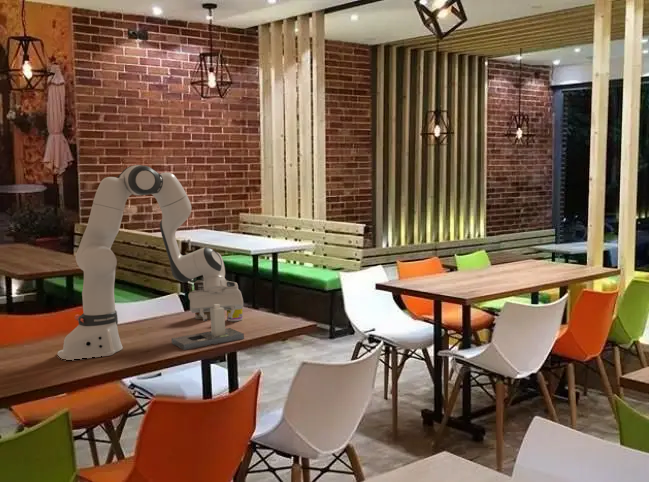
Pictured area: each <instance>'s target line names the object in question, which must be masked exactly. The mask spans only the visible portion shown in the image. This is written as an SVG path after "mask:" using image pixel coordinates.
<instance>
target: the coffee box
mask: <svg viewBox="0 0 649 482" xmlns="http://www.w3.org/2000/svg"><path fill="white" fill-rule="evenodd" d="M203 282H204V279H197V280H196V281H193V291H194V290H196V291H198V290H204V285H203ZM204 315H207V320H211V316H210V312H204ZM194 317H195V318H194V319H195V320H203V317H202V316H201V315H200V312H197V313H195V316H194Z"/></svg>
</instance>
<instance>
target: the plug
mask: <svg viewBox="0 0 649 482" xmlns="http://www.w3.org/2000/svg"><path fill="white" fill-rule="evenodd" d="M225 315H226V314H225V310H224V308H222V307H220V304H214V308H210V316H211V319H210V328H211V333H212V335H213V336H215V337H216V336H221V335H226V332H225V329H226V316H225Z"/></svg>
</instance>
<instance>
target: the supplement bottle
mask: <svg viewBox="0 0 649 482" xmlns="http://www.w3.org/2000/svg"><path fill="white" fill-rule="evenodd" d="M228 313H231V310H226V320H227V321H228V322H231V323H232V322H234V323H235V322H240V321H243V319H244V317H243V316H244V315H243V314H244V313H243V308H242V309H237V310H234V313H233V315H232V319H228Z"/></svg>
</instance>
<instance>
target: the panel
mask: <svg viewBox="0 0 649 482" xmlns="http://www.w3.org/2000/svg"><path fill="white" fill-rule="evenodd" d="M225 332H226V335H221V336H216V337H215V336H213V335H212V333H211V331H205V332H200V333H194V334H189V335H188V334H187V335H183V336H178V337H177V336H176V337H171V344H172V345H173V346H176V347H178V348H180V350H183V351H186V350H191V349H197V348H201V347H203V348H204V347H207V345H209V346H212V345H211V344H214V345H219V344H223V343H229V342H233V341H239V340H244V339H245V337H244V336H245V334H244V333H243V332H241V331H239V330H237V329H234V328H231V327H227V328H225ZM218 343H219V344H218Z"/></svg>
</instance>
